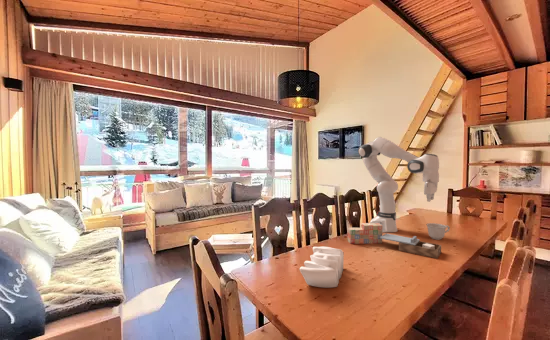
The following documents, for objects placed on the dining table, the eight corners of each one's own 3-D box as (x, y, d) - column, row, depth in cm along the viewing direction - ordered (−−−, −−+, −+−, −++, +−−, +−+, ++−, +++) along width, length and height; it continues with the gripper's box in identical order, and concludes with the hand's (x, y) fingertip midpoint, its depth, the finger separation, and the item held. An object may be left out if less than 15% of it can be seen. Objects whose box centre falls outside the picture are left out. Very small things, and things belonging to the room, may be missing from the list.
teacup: (455, 242, 167) (455, 227, 166) (432, 242, 167) (432, 227, 167) (443, 236, 179) (443, 223, 178) (422, 237, 179) (422, 223, 179)
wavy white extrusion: (333, 296, 102) (333, 270, 102) (295, 287, 109) (295, 263, 109) (348, 264, 133) (348, 244, 133) (318, 259, 141) (318, 240, 140)
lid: (419, 240, 154) (419, 236, 154) (415, 245, 146) (415, 240, 146) (385, 234, 168) (385, 230, 168) (380, 238, 160) (380, 234, 159)
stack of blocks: (350, 243, 166) (350, 225, 166) (347, 240, 172) (347, 223, 172) (382, 243, 166) (382, 225, 166) (378, 240, 172) (378, 222, 172)
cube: (422, 252, 148) (422, 244, 147) (426, 250, 150) (427, 243, 149) (429, 254, 144) (429, 246, 143) (434, 253, 146) (434, 245, 145)
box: (441, 253, 147) (441, 245, 147) (437, 259, 138) (437, 250, 138) (404, 245, 161) (404, 238, 161) (398, 251, 152) (398, 242, 152)
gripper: (433, 180, 150) (432, 203, 151) (439, 178, 165) (439, 199, 166) (421, 179, 154) (421, 202, 155) (428, 178, 170) (428, 198, 170)
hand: (430, 200), depth 161 cm, fingers open, 8 cm apart
